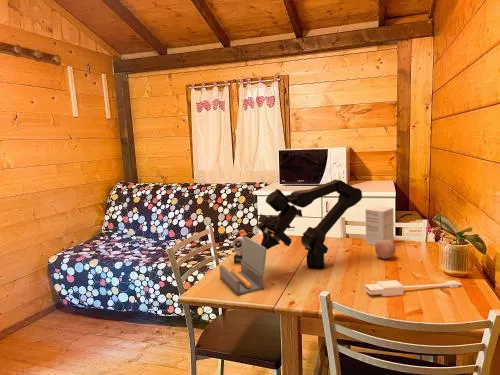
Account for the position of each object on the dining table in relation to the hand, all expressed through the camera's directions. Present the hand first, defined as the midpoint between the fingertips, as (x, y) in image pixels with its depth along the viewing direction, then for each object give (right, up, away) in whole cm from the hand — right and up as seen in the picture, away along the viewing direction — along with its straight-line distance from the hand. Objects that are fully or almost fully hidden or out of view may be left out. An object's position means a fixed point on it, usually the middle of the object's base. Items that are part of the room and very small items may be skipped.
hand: (259, 251), depth 134 cm
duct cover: (-3, -1, -1) cm, 3 cm away
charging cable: (+50, -10, -15) cm, 54 cm away
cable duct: (-7, -11, -2) cm, 13 cm away
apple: (+53, -6, +16) cm, 55 cm away
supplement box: (+58, -3, +36) cm, 68 cm away
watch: (-7, -8, +21) cm, 24 cm away
